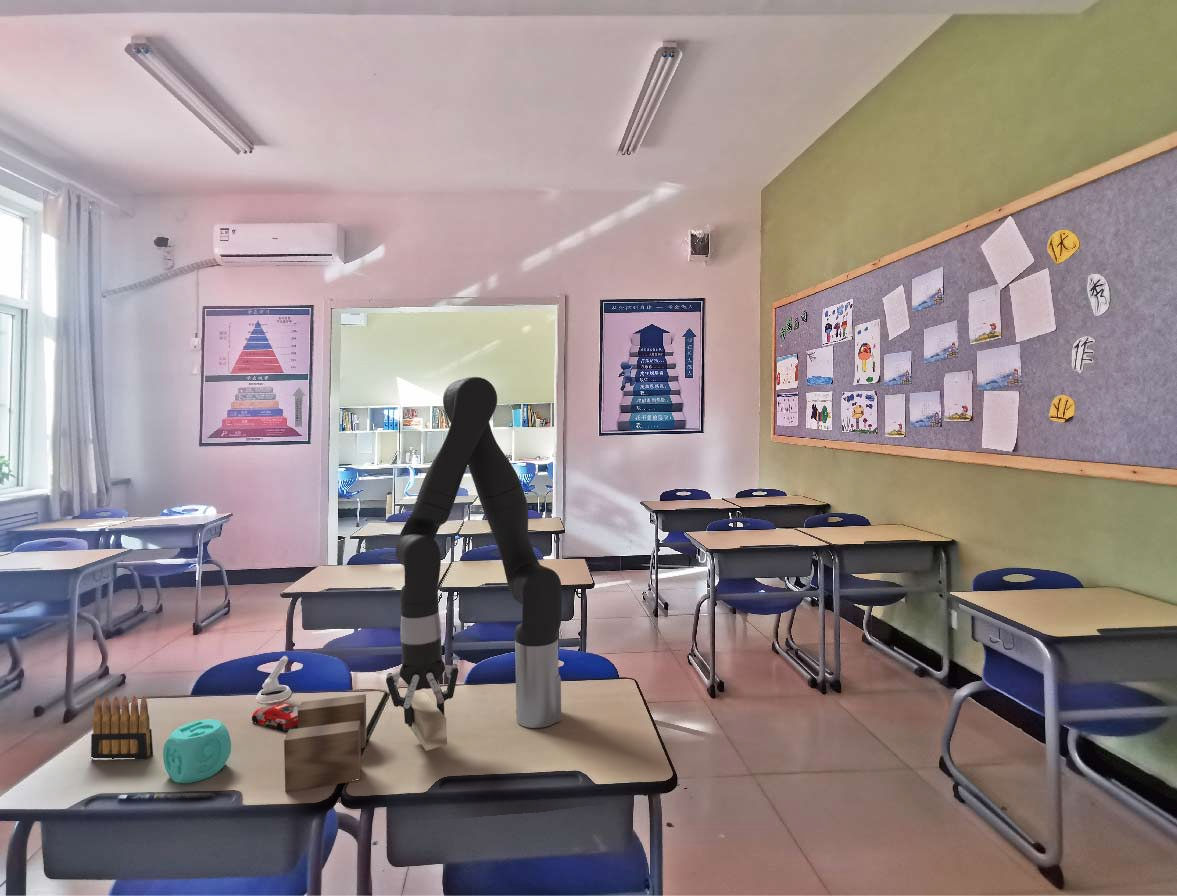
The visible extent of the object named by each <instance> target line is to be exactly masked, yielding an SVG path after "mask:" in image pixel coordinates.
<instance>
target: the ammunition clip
mask: <svg viewBox="0 0 1177 896" xmlns="http://www.w3.org/2000/svg"><path fill="white" fill-rule="evenodd" d="M102 704H103V705H102ZM129 704H130V702H129V699H128V698H127V696H126V695H124V696H123V698H122V701H121V703H120V700H119V697H118V696H117V695H115V697H114V698H113V700H112V706H111V701H110V698H109V696H105V698H104V701H103V703H102V701H101V697H99V696H96V698H95V701H94V704H93V705H94V706H93V718H92V733H91V737H90V739H91V742H90V745H91V746H90V758H91V757H93V758H112V759H114V758H135V759H146V760H148V759H149V758H150V756H151V757H152V756H153V755H154V750H153V749H154V747H153V745H154V744H153V734H152V733H153V732H152V728H150V727H151V726H150V724H151V723H150V722H151V721H150V715H149V707H148V700H147V698H146V696H145V695H142V697H141V700H140V705H139V702H138V698H137V697H136V695H133V697H132V699H131V704H130V705H129ZM148 757H149V758H148ZM147 758H148V759H147Z"/></svg>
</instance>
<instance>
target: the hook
mask: <svg viewBox="0 0 1177 896" xmlns="http://www.w3.org/2000/svg"><path fill="white" fill-rule="evenodd" d="M288 661H289V658H288V656H287V655H283V656H282V657H281V658H280V659H279V661H278V662H277V664H276V665H275V666H274V668H273V670H272V672H271V673H270V674H269V676H268V677H267V678H266V679H265V681H264V683H262V684H261V685H262V686H261V687H262V688H263V689H261V690H260V691H259V692H258V693H257V695H256V698H255V700H256V699H257V700H258V701H261V702H268V701H274V700H280V699H284V698H286V697H288V696H290V694H291V693H292V694H293V692H292V690H291V688H290V687H289V685H284V684H280V683H279V682H280V681H279V679H278V677H279V675H280V674H281V672H282V671H283V669H284V668H285V666H286V664H287V663H288ZM273 692H278V693H276V694H271V693H273ZM279 692H280V693H279ZM261 694H264V695H261ZM266 694H269V695H266ZM270 694H271V695H270ZM290 697H291V696H290Z"/></svg>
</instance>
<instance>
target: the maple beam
mask: <svg viewBox="0 0 1177 896" xmlns="http://www.w3.org/2000/svg"><path fill="white" fill-rule="evenodd" d="M403 697H404V698H405V696H403ZM411 703H412V727H409V724H407V726H408V727H409V728H410V730H411V732H413V734H414V736H415V737H416V738H417V740H418V742H419V743H420V744H421V746H422V747H423V748H424V750H425V751H426V752H427V751H430V750H433V749H436V748H439V747H443V746H447V745H448V734H447V717H446V716H444V715H443V714H442V712H441V711H440V710H439V709H438V708H437V704H436V703H434V702H433V700H432V699H430V697H429V696H428V695H427V693H426V692H425V691H422V692H421V691H420V692H417V693H414V696H413V698H412V701H411Z"/></svg>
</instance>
